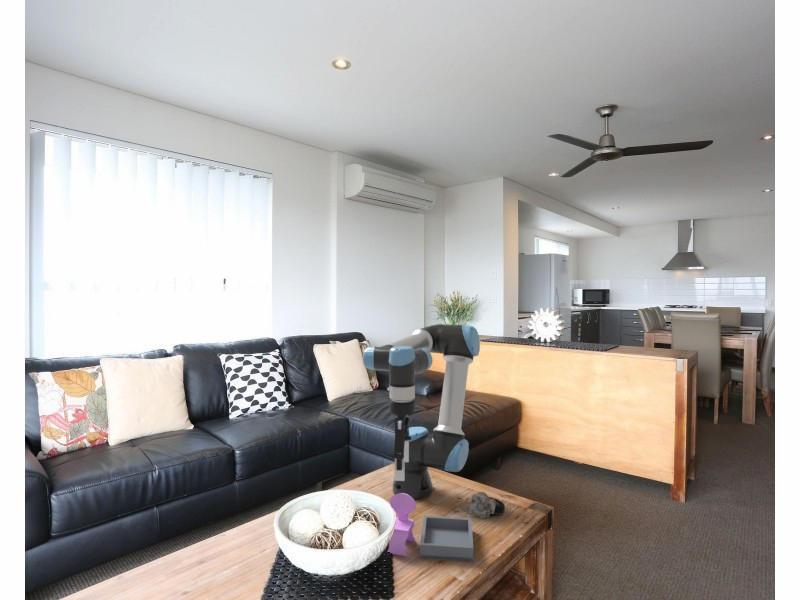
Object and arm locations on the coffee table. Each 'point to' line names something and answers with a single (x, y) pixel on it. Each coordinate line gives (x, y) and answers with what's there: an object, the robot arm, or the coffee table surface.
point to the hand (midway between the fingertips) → (402, 470)
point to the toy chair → (402, 523)
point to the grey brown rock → (485, 505)
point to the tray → (446, 539)
